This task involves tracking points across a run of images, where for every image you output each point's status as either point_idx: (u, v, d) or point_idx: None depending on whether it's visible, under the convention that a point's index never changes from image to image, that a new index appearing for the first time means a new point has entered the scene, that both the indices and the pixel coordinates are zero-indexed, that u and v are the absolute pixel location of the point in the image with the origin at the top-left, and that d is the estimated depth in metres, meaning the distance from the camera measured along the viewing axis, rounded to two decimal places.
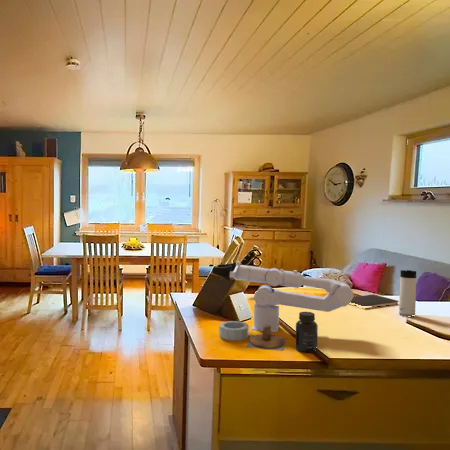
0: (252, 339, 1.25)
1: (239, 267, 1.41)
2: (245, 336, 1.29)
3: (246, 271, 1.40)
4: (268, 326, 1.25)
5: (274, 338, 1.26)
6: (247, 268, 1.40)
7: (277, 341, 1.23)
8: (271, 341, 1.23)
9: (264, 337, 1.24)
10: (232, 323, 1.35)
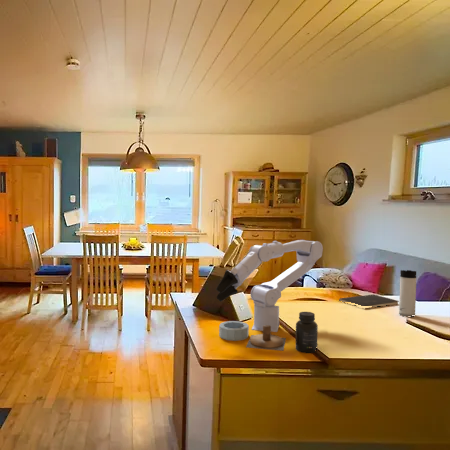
0: (252, 339, 1.25)
1: None
2: (245, 336, 1.29)
3: (240, 266, 1.33)
4: (268, 326, 1.25)
5: (274, 338, 1.26)
6: (238, 265, 1.35)
7: (277, 341, 1.23)
8: (271, 341, 1.23)
9: (264, 337, 1.24)
10: (232, 323, 1.35)
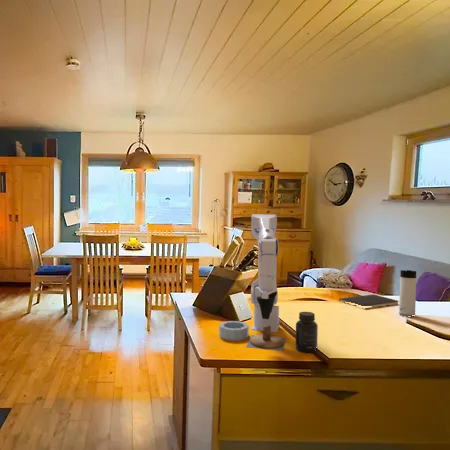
0: (252, 339, 1.25)
1: (260, 287, 1.23)
2: (245, 336, 1.29)
3: (263, 279, 1.22)
4: (268, 326, 1.25)
5: (274, 338, 1.26)
6: (260, 278, 1.23)
7: (277, 341, 1.23)
8: (271, 341, 1.23)
9: (264, 337, 1.24)
10: (232, 323, 1.35)
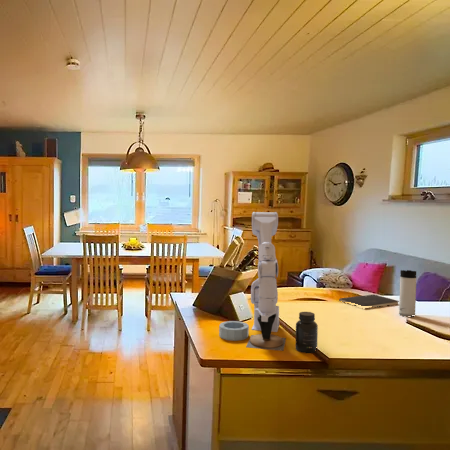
0: (252, 339, 1.25)
1: (260, 309, 1.24)
2: (245, 336, 1.29)
3: (263, 301, 1.22)
4: None
5: (274, 338, 1.26)
6: (260, 300, 1.23)
7: (277, 341, 1.23)
8: (271, 341, 1.23)
9: None
10: (232, 323, 1.35)
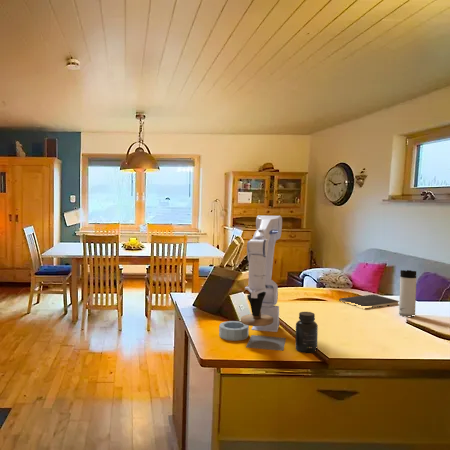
0: (243, 318, 1.27)
1: (249, 287, 1.25)
2: (245, 336, 1.29)
3: (253, 279, 1.24)
4: None
5: (265, 317, 1.28)
6: (250, 277, 1.25)
7: (267, 319, 1.25)
8: (261, 319, 1.25)
9: (254, 316, 1.26)
10: (232, 323, 1.35)
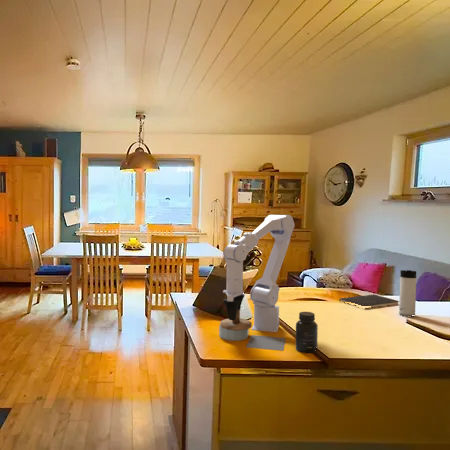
0: (222, 322, 1.32)
1: (227, 290, 1.30)
2: (245, 336, 1.29)
3: (230, 282, 1.29)
4: (237, 310, 1.31)
5: (243, 322, 1.32)
6: (227, 281, 1.30)
7: (245, 324, 1.29)
8: (239, 324, 1.30)
9: (233, 320, 1.31)
10: None
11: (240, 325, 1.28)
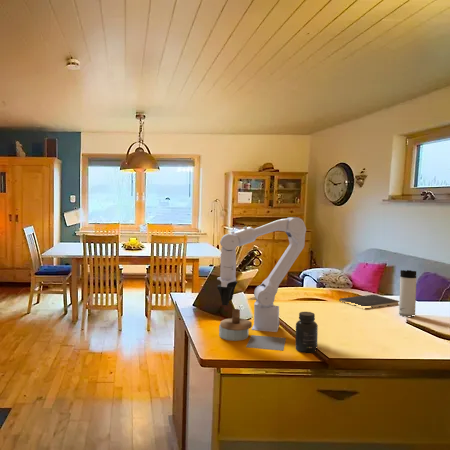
0: (222, 322, 1.32)
1: (221, 277, 1.38)
2: (245, 336, 1.29)
3: (224, 270, 1.37)
4: (237, 310, 1.31)
5: (243, 322, 1.32)
6: (221, 269, 1.38)
7: (245, 324, 1.29)
8: (239, 324, 1.30)
9: (233, 320, 1.31)
10: None
11: (240, 325, 1.28)
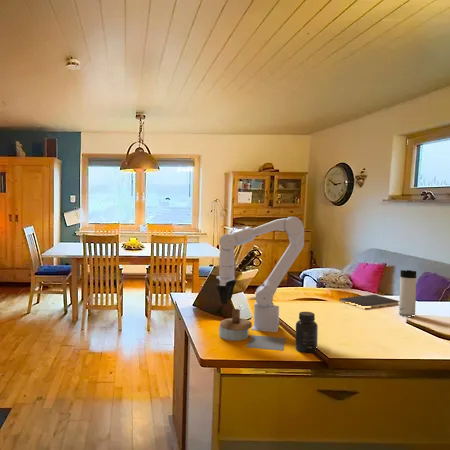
0: (222, 322, 1.32)
1: (220, 276, 1.41)
2: (245, 336, 1.29)
3: (222, 269, 1.40)
4: (237, 310, 1.31)
5: (243, 322, 1.32)
6: (220, 268, 1.41)
7: (245, 324, 1.29)
8: (239, 324, 1.30)
9: (233, 320, 1.31)
10: None
11: (240, 325, 1.28)
